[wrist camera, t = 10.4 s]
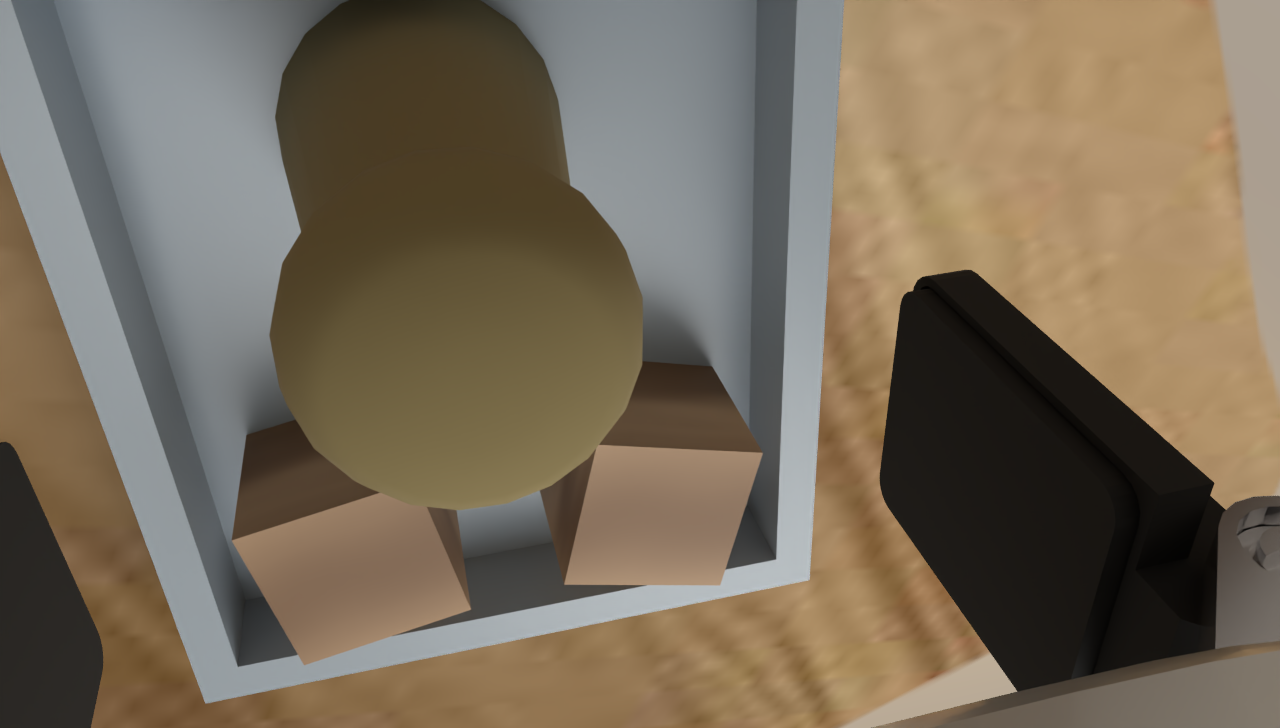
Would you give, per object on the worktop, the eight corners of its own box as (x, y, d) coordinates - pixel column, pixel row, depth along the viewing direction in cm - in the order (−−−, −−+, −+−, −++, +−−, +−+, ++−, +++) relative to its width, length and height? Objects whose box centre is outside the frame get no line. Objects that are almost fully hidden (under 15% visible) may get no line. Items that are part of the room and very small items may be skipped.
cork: (212, 79, 21) (111, 342, 12) (470, -73, 21) (569, 76, 12) (382, 302, 25) (404, 641, 15) (607, 173, 24) (766, 440, 15)
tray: (-26, -91, 19) (-82, -66, 17) (794, -149, 22) (851, -135, 20) (217, 619, 29) (205, 703, 26) (772, 513, 32) (809, 580, 29)
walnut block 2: (565, 355, 26) (596, 444, 23) (712, 366, 28) (763, 452, 24) (538, 484, 28) (564, 584, 25) (677, 489, 29) (720, 585, 26)
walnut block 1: (246, 435, 25) (231, 540, 22) (406, 384, 26) (415, 481, 22) (309, 553, 28) (304, 665, 24) (455, 505, 28) (470, 609, 25)
